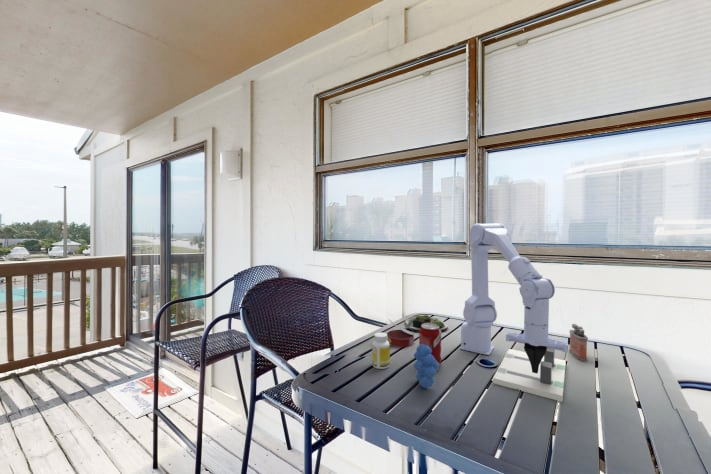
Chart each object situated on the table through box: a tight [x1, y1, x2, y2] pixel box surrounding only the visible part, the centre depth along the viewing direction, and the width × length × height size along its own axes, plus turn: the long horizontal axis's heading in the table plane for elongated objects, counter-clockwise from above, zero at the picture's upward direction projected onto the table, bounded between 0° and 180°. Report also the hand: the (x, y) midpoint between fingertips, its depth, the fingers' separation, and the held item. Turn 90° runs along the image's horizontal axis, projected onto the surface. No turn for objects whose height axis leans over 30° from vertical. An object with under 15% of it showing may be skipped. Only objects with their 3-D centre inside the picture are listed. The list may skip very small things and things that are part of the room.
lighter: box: [568, 323, 589, 363], centre depth 104 cm, size 8×3×10 cm, turn 168°
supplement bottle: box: [371, 331, 391, 370], centre depth 98 cm, size 5×5×10 cm
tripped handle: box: [540, 361, 552, 385], centre depth 85 cm, size 2×4×4 cm, turn 145°
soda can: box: [418, 322, 442, 365], centre depth 99 cm, size 7×7×12 cm
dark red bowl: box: [386, 318, 415, 348], centre depth 118 cm, size 11×10×10 cm
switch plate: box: [492, 348, 567, 403], centre depth 92 cm, size 16×24×2 cm, turn 145°
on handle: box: [544, 348, 556, 367], centre depth 95 cm, size 2×4×4 cm, turn 145°
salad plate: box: [405, 314, 449, 333], centre depth 136 cm, size 19×18×5 cm
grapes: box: [413, 344, 441, 389], centre depth 85 cm, size 12×7×12 cm, turn 8°
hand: (535, 371), depth 86 cm, fingers closed
